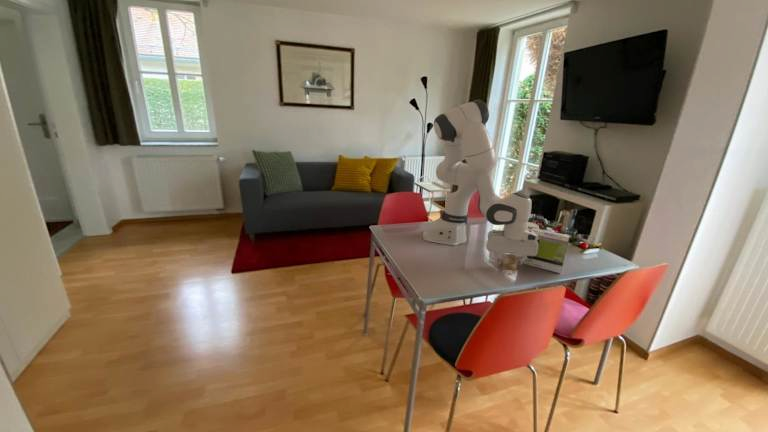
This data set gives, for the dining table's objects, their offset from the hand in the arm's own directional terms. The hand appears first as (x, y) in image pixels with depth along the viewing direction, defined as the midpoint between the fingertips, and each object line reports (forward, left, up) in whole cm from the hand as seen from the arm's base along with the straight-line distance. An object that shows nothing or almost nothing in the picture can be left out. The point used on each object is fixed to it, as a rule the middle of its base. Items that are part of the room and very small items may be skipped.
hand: (508, 262), depth 136 cm
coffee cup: (+14, +26, -3) cm, 29 cm away
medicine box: (+25, +27, -3) cm, 37 cm away
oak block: (0, +1, -3) cm, 3 cm away
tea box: (+16, +7, -3) cm, 18 cm away
